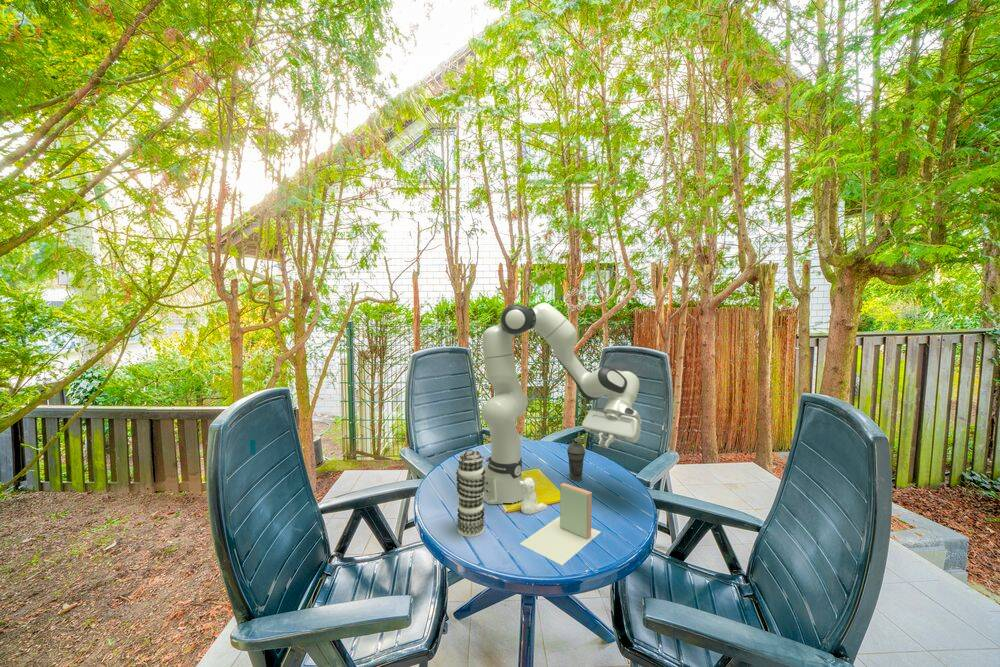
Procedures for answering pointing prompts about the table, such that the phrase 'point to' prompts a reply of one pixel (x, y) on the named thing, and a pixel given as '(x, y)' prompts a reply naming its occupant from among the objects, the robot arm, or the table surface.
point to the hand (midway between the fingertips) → (602, 446)
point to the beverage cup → (576, 459)
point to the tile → (575, 510)
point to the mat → (557, 542)
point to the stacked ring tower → (470, 493)
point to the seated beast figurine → (530, 498)
